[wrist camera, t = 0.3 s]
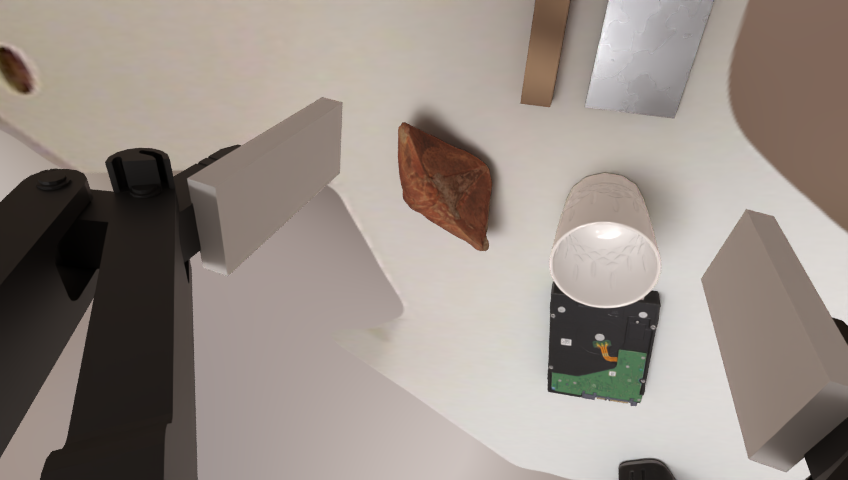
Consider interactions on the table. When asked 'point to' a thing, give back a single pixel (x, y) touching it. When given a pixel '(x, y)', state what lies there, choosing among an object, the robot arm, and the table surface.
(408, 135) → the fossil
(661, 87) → the metal board
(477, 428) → the table surface
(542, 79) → the beam
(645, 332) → the disk drive
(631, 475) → the electronic device
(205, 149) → the table surface
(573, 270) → the white cup
